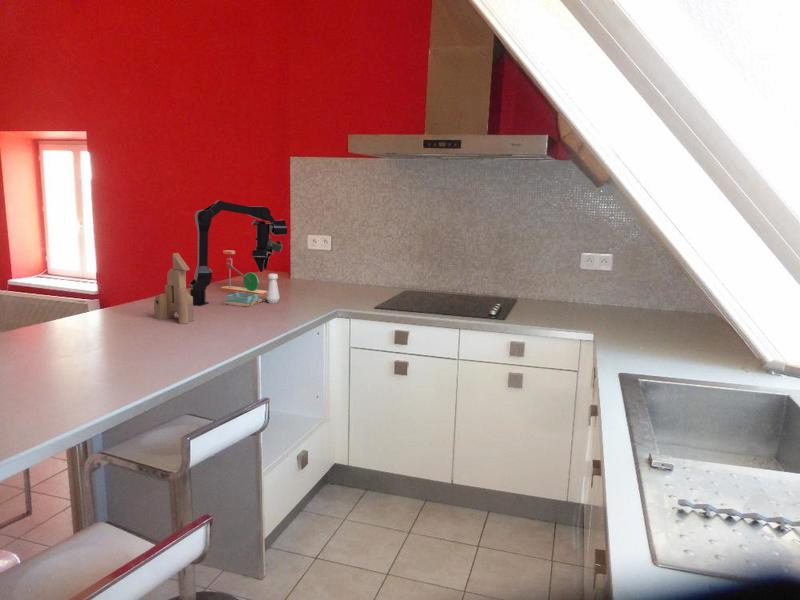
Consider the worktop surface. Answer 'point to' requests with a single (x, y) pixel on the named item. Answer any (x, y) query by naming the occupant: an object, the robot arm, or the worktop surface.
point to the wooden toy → (175, 294)
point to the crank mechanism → (249, 279)
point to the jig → (243, 299)
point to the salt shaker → (273, 289)
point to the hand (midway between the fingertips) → (263, 270)
